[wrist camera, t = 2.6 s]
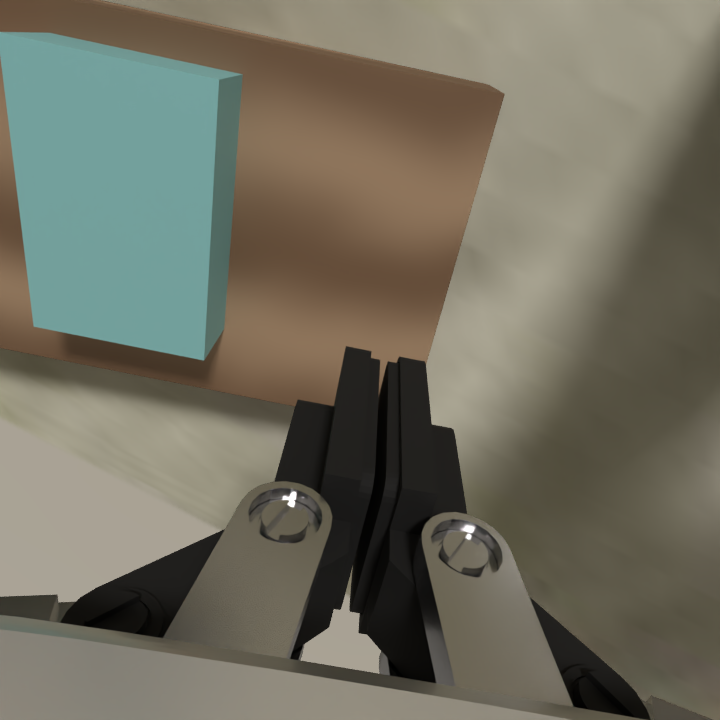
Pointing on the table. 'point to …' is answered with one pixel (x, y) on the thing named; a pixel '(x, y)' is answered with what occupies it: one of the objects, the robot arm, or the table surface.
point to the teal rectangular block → (123, 189)
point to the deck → (291, 205)
